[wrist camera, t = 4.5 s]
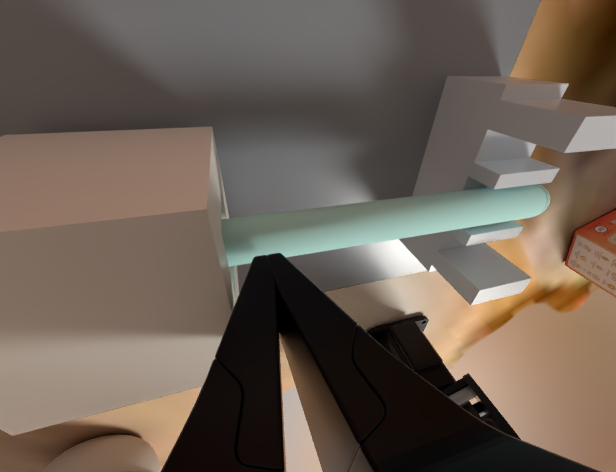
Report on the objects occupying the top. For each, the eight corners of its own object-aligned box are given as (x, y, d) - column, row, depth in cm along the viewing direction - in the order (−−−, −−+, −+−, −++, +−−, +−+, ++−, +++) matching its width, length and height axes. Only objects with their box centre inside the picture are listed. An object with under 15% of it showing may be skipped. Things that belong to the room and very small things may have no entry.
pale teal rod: (485, 213, 15) (558, 259, 12) (-256, 325, 8) (-557, 503, 5) (522, 141, 12) (624, 174, 9) (-489, 214, 6) (-1356, 423, 3)
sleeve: (236, 254, 13) (246, 374, 8) (96, 276, 11) (12, 435, 7) (212, 126, 9) (207, 208, 5) (5, 134, 8) (-304, 265, 3)
